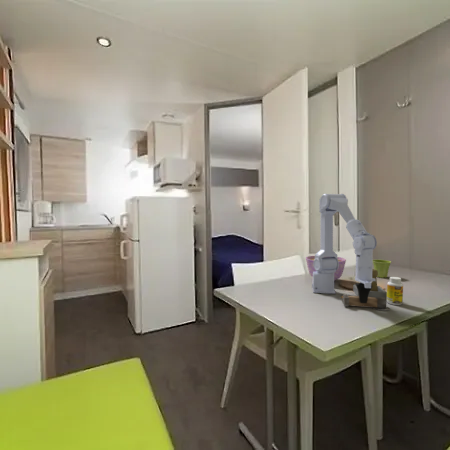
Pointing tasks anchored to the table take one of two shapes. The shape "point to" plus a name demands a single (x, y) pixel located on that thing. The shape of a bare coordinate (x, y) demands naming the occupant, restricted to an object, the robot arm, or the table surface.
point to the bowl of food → (336, 274)
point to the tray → (373, 292)
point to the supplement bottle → (395, 291)
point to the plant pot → (381, 267)
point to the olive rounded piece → (374, 283)
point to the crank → (371, 302)
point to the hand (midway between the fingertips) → (363, 302)
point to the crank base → (382, 309)
